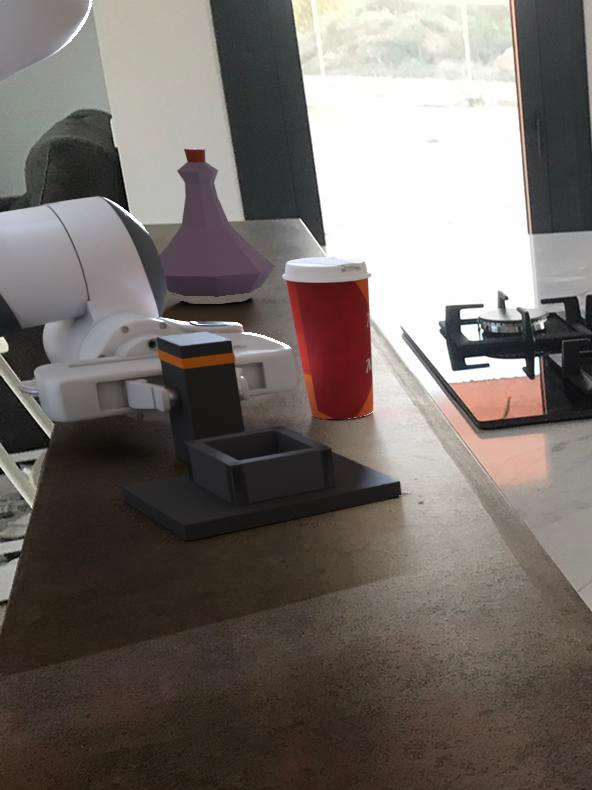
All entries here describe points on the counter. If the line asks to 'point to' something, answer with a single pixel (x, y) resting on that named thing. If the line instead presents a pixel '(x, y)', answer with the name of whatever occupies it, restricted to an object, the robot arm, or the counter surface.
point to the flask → (209, 242)
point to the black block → (201, 386)
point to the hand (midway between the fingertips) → (207, 395)
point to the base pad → (256, 484)
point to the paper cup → (333, 333)
